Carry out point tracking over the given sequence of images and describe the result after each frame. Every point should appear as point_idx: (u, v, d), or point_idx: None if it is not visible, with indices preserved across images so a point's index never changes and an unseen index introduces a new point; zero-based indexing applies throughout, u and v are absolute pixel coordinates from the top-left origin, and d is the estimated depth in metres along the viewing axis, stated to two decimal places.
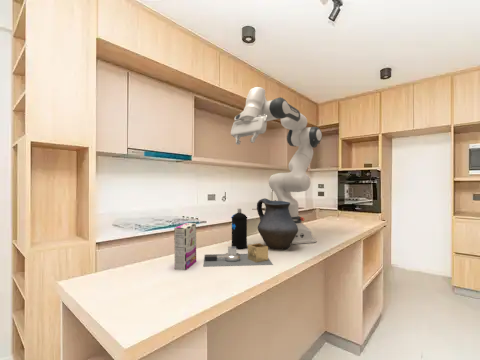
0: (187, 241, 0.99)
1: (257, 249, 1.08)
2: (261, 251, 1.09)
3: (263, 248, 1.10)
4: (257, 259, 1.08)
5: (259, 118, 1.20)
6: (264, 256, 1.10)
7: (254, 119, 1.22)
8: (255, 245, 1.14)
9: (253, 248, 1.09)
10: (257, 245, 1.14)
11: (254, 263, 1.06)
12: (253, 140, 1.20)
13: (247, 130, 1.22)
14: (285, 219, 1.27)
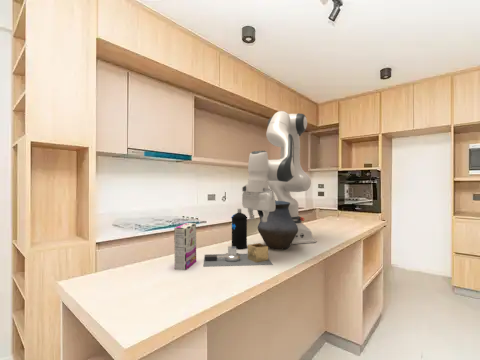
0: (186, 241, 0.99)
1: (257, 249, 1.08)
2: (261, 251, 1.09)
3: (263, 248, 1.10)
4: (257, 259, 1.08)
5: (265, 196, 1.04)
6: (264, 256, 1.10)
7: (260, 195, 1.07)
8: (255, 245, 1.14)
9: (253, 248, 1.09)
10: (257, 245, 1.14)
11: (254, 263, 1.06)
12: (265, 220, 1.07)
13: (256, 207, 1.09)
14: (285, 219, 1.27)
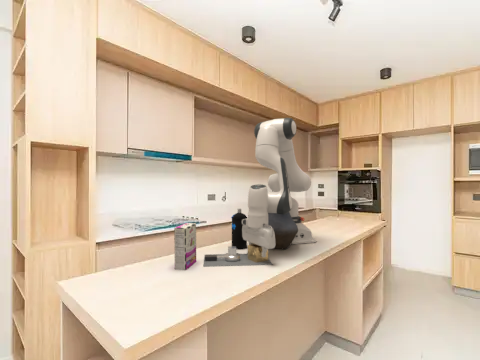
0: (187, 241, 0.99)
1: (257, 249, 1.08)
2: (261, 251, 1.09)
3: None
4: (257, 259, 1.08)
5: (265, 233, 1.04)
6: None
7: (260, 231, 1.07)
8: (255, 245, 1.14)
9: (253, 248, 1.09)
10: (257, 245, 1.14)
11: (254, 263, 1.06)
12: (263, 255, 1.08)
13: (256, 242, 1.10)
14: (285, 219, 1.27)
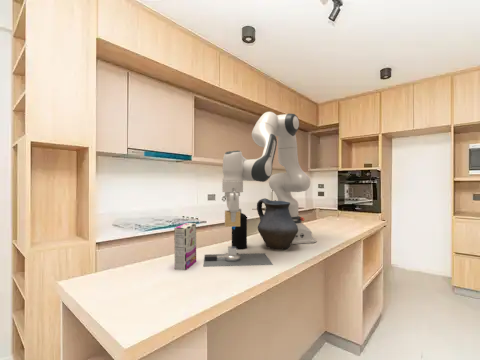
0: (187, 241, 0.99)
1: (227, 213, 1.08)
2: None
3: None
4: (227, 223, 1.08)
5: (229, 196, 1.04)
6: (235, 221, 1.09)
7: None
8: None
9: (225, 213, 1.10)
10: None
11: (254, 263, 1.06)
12: (232, 220, 1.07)
13: (228, 207, 1.10)
14: (285, 219, 1.27)
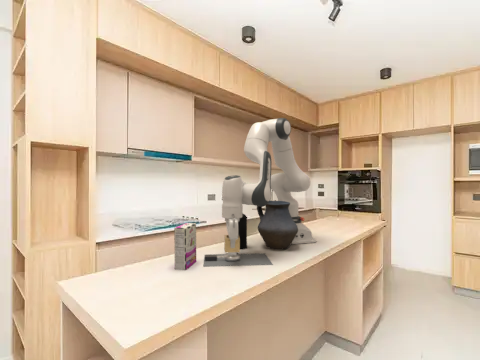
0: (187, 241, 0.99)
1: (226, 239, 1.08)
2: None
3: None
4: (226, 249, 1.08)
5: (229, 223, 1.04)
6: (235, 247, 1.09)
7: (228, 221, 1.07)
8: None
9: (224, 238, 1.10)
10: None
11: (254, 263, 1.06)
12: (232, 246, 1.07)
13: None
14: (285, 219, 1.27)
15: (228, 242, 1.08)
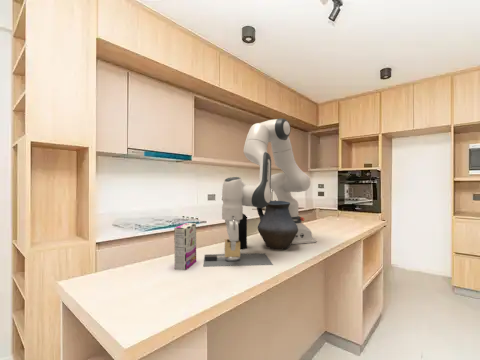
0: (187, 241, 0.99)
1: (227, 244, 1.09)
2: None
3: None
4: (227, 254, 1.09)
5: (229, 225, 1.04)
6: (235, 252, 1.09)
7: None
8: None
9: (225, 242, 1.10)
10: None
11: (254, 263, 1.06)
12: (232, 248, 1.06)
13: (228, 235, 1.10)
14: (285, 219, 1.27)
15: (228, 247, 1.09)
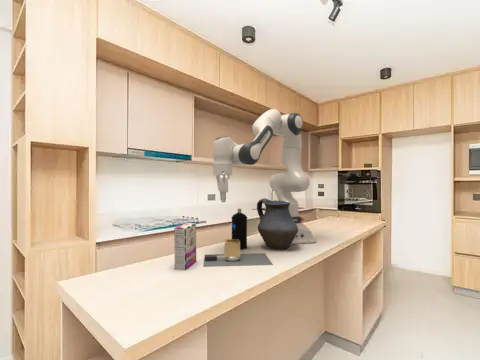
0: (187, 241, 0.99)
1: (227, 244, 1.09)
2: (232, 247, 1.09)
3: (234, 244, 1.09)
4: (227, 254, 1.09)
5: (219, 178, 1.13)
6: (235, 252, 1.09)
7: None
8: (232, 240, 1.14)
9: (225, 242, 1.10)
10: (234, 240, 1.14)
11: (254, 263, 1.06)
12: (223, 200, 1.15)
13: None
14: (285, 219, 1.27)
15: (228, 247, 1.09)
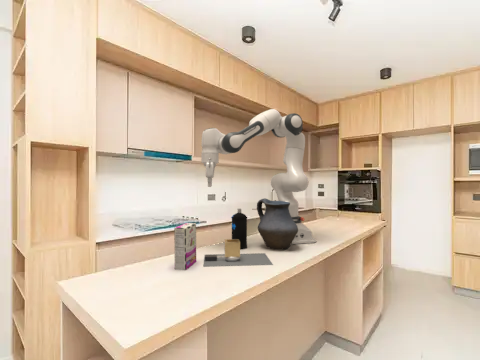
0: (187, 241, 0.99)
1: (227, 244, 1.09)
2: (232, 247, 1.09)
3: (234, 244, 1.09)
4: (227, 254, 1.09)
5: (205, 164, 1.26)
6: (235, 252, 1.09)
7: None
8: (232, 240, 1.14)
9: (225, 242, 1.10)
10: (234, 240, 1.14)
11: (254, 263, 1.06)
12: (209, 185, 1.28)
13: None
14: (285, 219, 1.27)
15: (228, 247, 1.09)
